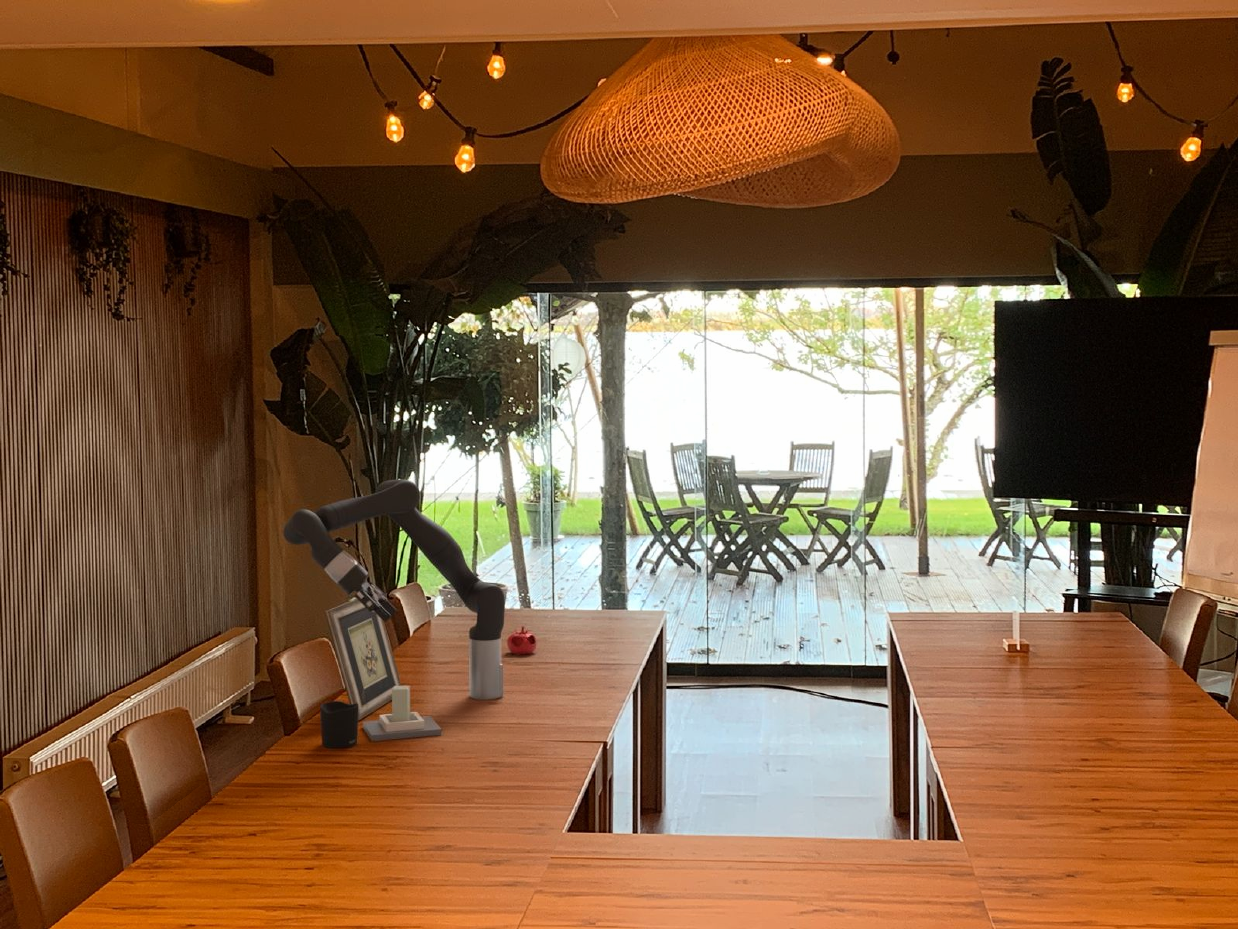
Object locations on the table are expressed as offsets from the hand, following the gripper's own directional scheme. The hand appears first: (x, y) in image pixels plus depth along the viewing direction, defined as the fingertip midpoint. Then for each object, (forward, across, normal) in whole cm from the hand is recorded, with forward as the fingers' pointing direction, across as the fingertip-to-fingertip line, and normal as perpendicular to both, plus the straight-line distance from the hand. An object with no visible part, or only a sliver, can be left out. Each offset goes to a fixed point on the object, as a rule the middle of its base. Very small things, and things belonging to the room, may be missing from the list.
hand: (391, 616), depth 326 cm
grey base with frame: (+23, +2, +20) cm, 31 cm away
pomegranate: (+41, +101, +3) cm, 109 cm away
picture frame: (+13, +28, +30) cm, 43 cm away
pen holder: (+14, -10, +30) cm, 34 cm away
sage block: (+22, +2, +19) cm, 29 cm away
